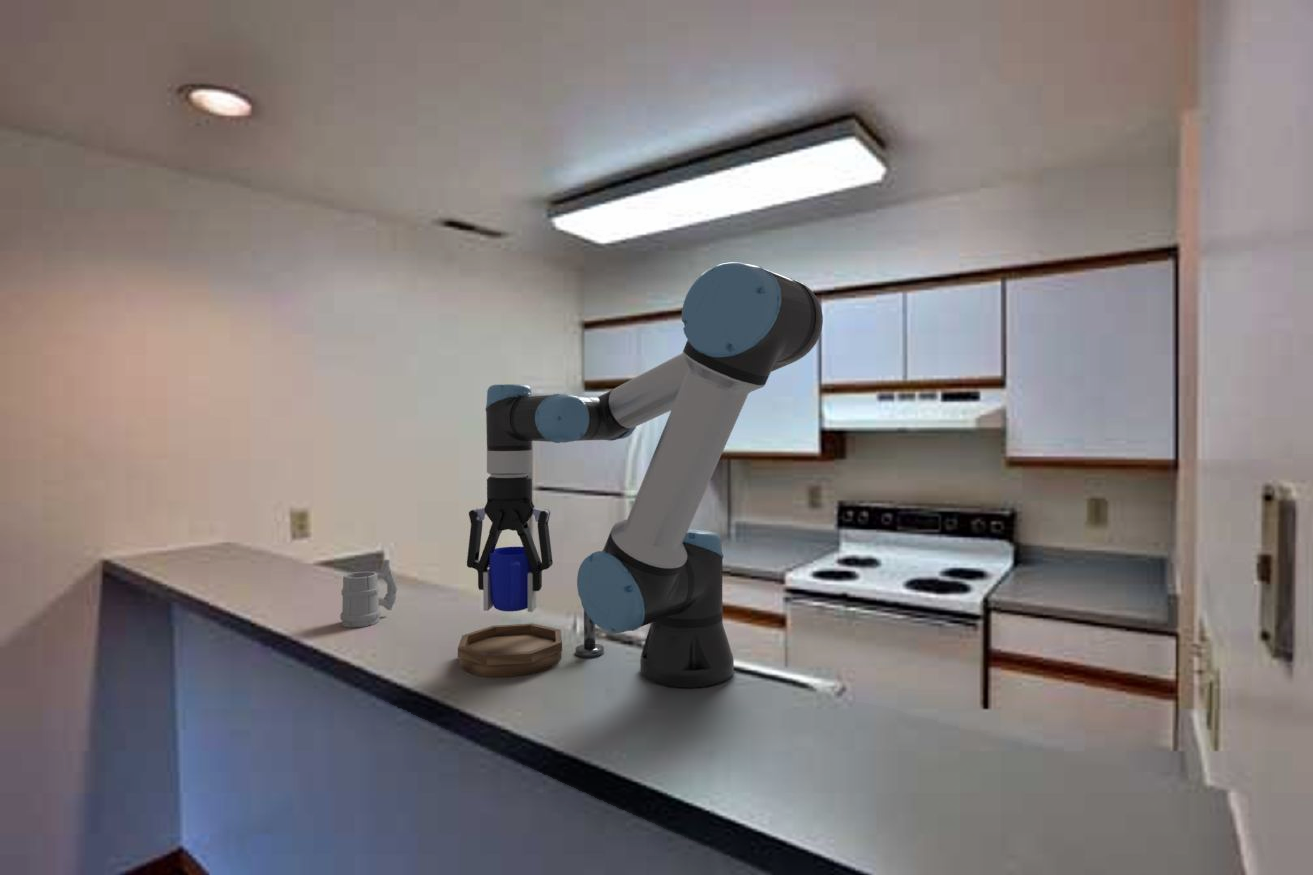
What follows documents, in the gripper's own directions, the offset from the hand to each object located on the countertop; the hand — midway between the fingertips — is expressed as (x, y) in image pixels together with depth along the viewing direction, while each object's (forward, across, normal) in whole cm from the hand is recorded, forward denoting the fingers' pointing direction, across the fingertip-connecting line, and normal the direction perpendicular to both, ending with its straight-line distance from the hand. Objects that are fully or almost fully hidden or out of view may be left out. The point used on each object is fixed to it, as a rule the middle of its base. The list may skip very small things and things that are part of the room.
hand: (510, 608), depth 118 cm
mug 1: (+9, +36, -21) cm, 43 cm away
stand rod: (+9, -13, -4) cm, 16 cm away
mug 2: (0, -1, 0) cm, 1 cm away
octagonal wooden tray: (+9, 0, 0) cm, 9 cm away
